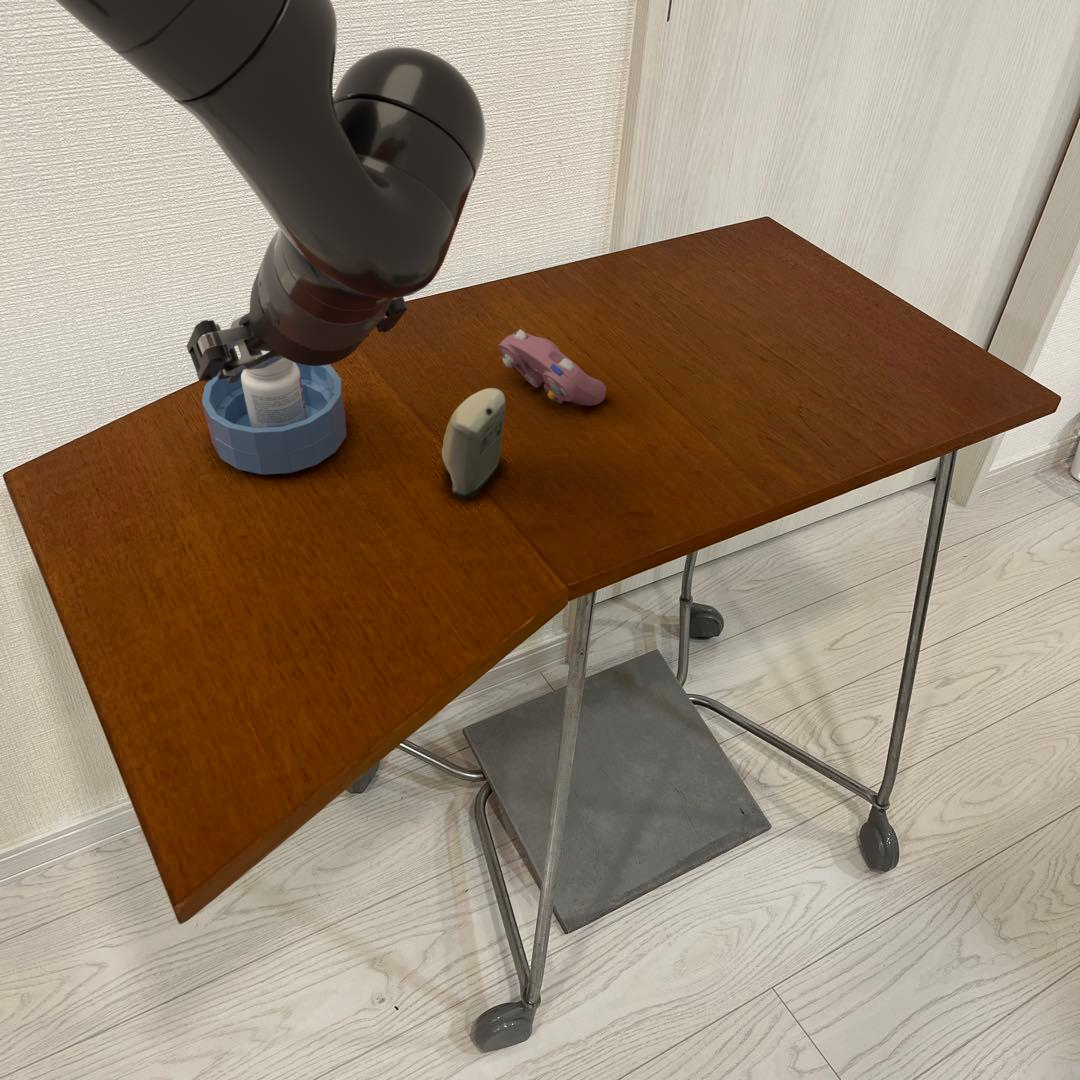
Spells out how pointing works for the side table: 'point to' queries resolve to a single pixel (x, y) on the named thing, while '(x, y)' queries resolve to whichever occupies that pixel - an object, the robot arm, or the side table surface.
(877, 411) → the side table surface
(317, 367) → the bowl
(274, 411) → the pill bottle
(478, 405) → the cream rounded block
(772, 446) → the side table surface
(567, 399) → the video game controller
